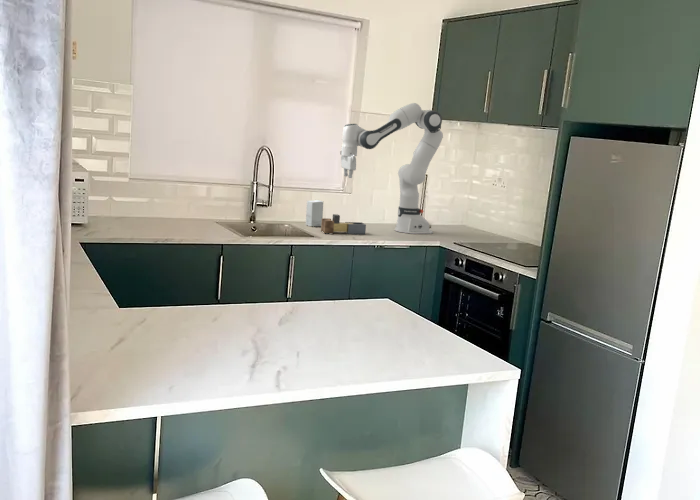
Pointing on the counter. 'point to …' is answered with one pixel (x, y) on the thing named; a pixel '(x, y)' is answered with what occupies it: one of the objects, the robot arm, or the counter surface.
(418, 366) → the counter surface
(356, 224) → the sleeve
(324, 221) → the brown wooden box
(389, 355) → the counter surface
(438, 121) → the robot arm
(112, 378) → the counter surface
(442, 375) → the counter surface
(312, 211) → the skincare box
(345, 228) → the tan block
